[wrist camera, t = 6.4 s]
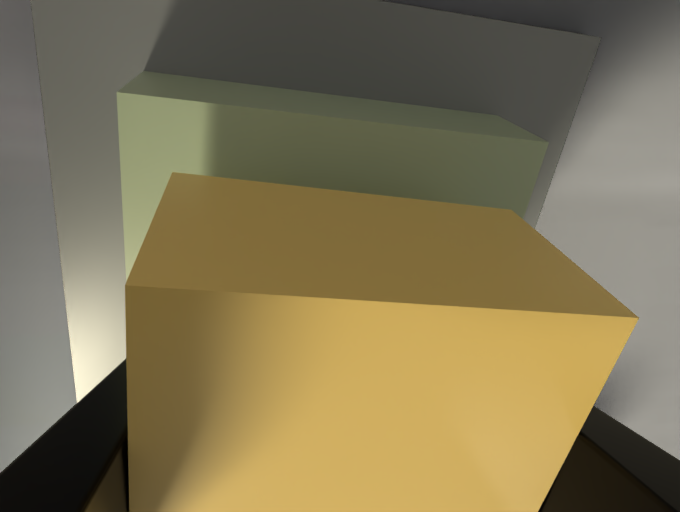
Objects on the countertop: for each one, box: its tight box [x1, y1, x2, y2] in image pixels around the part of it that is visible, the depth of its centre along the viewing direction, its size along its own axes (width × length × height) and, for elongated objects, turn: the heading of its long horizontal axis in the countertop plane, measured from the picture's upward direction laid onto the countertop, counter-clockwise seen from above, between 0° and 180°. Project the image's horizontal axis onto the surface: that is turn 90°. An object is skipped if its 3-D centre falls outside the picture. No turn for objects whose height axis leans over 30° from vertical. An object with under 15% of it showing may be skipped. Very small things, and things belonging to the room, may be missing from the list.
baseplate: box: [30, 0, 602, 403], centre depth 12 cm, size 12×12×3 cm
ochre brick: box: [125, 172, 639, 512], centre depth 8 cm, size 6×6×4 cm
